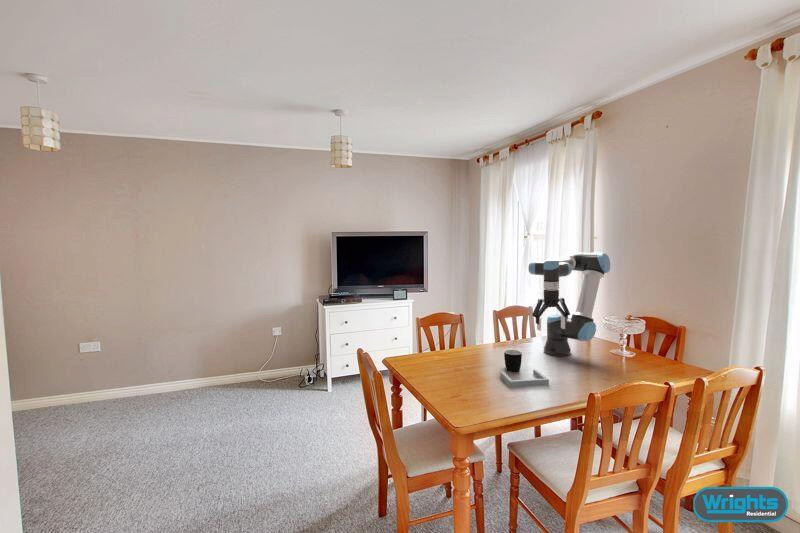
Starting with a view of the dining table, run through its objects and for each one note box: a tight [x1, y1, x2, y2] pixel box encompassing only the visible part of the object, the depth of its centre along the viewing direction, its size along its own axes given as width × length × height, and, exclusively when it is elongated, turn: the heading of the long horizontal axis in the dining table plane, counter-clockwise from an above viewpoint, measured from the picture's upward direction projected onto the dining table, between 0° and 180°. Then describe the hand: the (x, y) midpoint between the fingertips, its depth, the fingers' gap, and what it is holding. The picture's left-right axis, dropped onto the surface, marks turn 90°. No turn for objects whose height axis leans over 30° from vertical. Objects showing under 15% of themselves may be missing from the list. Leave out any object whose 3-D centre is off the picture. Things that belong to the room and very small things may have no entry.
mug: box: [503, 349, 523, 373], centre depth 204 cm, size 12×9×10 cm
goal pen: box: [499, 368, 550, 389], centre depth 188 cm, size 14×19×3 cm
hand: (551, 329), depth 200 cm, fingers open, 13 cm apart
